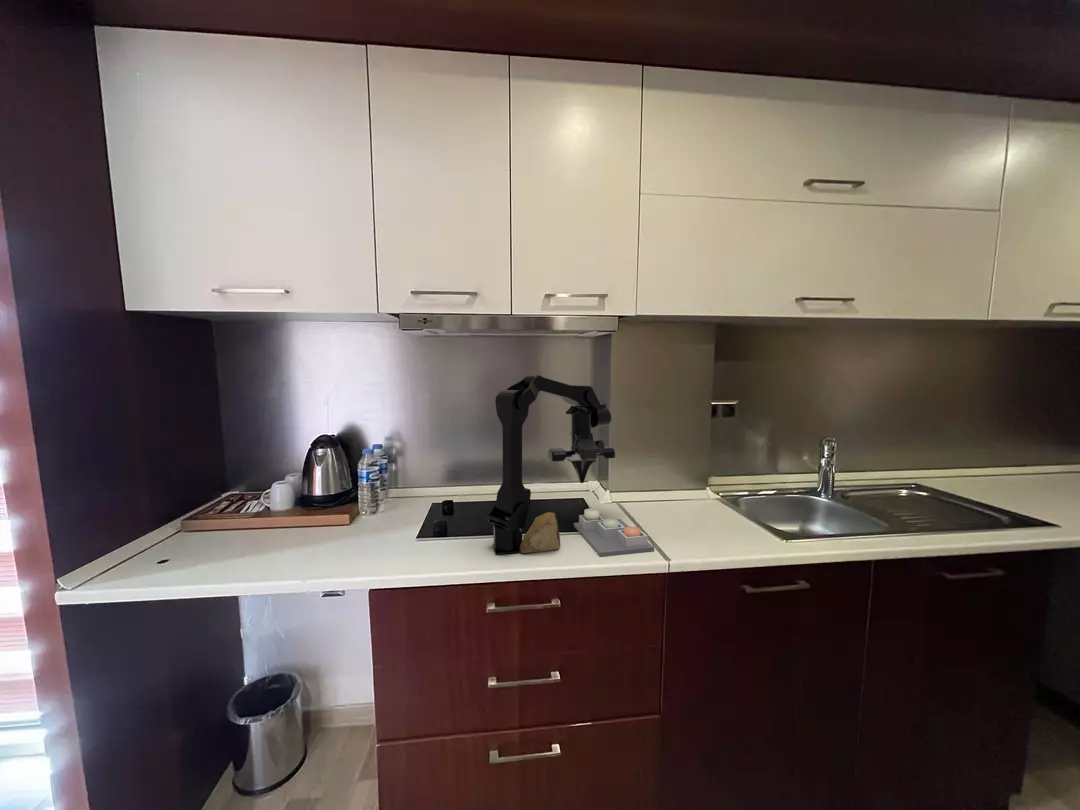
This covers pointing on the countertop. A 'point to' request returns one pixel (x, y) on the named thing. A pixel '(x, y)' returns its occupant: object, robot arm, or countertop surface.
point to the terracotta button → (632, 531)
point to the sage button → (610, 523)
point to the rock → (542, 534)
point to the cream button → (591, 514)
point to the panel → (611, 538)
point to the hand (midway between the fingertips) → (581, 482)
